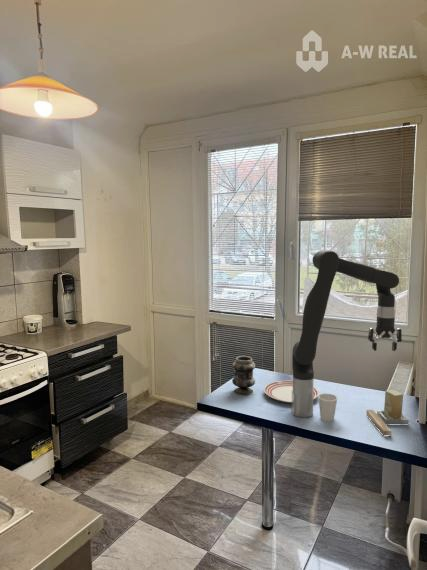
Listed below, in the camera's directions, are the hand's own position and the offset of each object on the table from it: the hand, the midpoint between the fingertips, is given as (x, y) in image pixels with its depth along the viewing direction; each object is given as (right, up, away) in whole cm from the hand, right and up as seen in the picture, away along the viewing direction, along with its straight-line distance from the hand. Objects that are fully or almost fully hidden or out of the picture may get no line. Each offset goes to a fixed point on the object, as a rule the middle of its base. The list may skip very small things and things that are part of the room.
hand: (384, 350), depth 181 cm
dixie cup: (-28, -29, -7) cm, 41 cm away
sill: (-9, -30, -14) cm, 34 cm away
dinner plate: (-39, -27, +20) cm, 51 cm away
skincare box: (0, -29, -9) cm, 30 cm away
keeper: (0, -29, -9) cm, 31 cm away
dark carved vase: (-63, -26, +26) cm, 73 cm away
